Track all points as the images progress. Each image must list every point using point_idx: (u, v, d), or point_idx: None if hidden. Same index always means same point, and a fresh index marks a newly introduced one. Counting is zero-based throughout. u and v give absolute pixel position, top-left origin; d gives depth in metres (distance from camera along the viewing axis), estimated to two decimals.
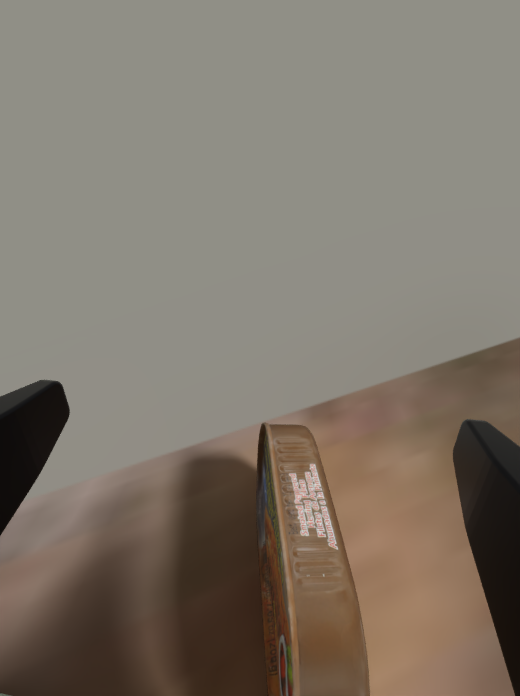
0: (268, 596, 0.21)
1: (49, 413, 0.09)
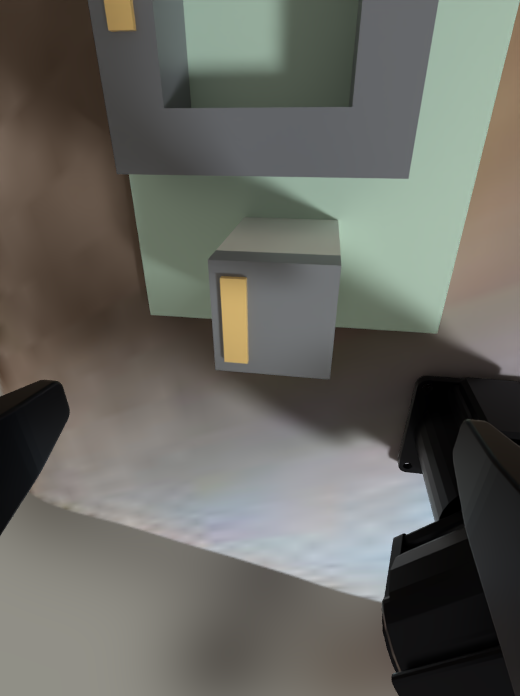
0: None
1: (49, 413, 0.09)
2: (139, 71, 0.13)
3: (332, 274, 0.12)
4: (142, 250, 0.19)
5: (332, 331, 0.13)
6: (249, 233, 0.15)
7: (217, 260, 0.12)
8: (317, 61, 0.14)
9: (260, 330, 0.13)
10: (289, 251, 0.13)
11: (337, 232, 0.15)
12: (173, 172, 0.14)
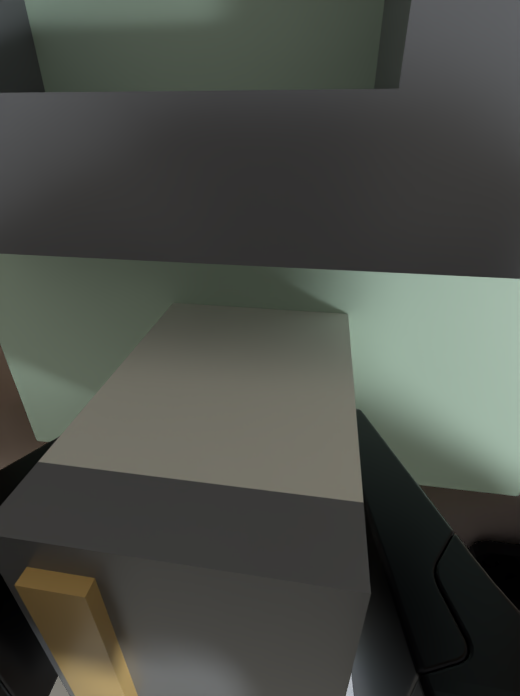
0: None
1: None
2: None
3: (341, 605, 0.04)
4: (4, 348, 0.11)
5: (339, 693, 0.05)
6: (158, 368, 0.07)
7: (6, 535, 0.04)
8: None
9: (155, 663, 0.05)
10: (225, 475, 0.05)
11: (348, 365, 0.07)
12: None
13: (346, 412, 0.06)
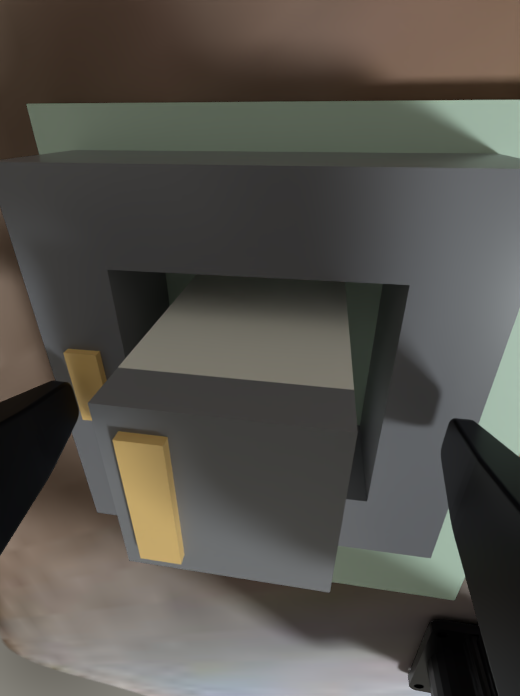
0: None
1: (59, 414, 0.09)
2: None
3: (338, 445, 0.06)
4: None
5: (336, 529, 0.07)
6: (195, 314, 0.09)
7: (107, 404, 0.06)
8: None
9: (201, 516, 0.07)
10: (255, 375, 0.07)
11: (344, 313, 0.09)
12: None
13: (342, 341, 0.08)
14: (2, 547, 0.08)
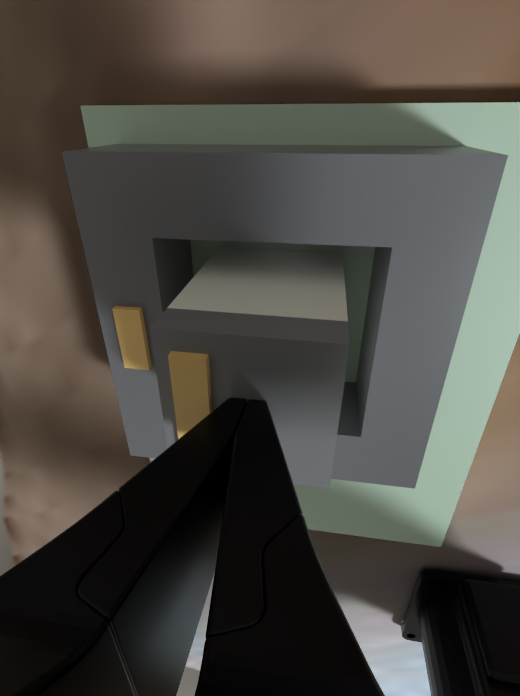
0: None
1: None
2: (153, 392, 0.13)
3: (336, 355, 0.08)
4: None
5: (334, 430, 0.09)
6: (221, 275, 0.11)
7: (164, 329, 0.08)
8: None
9: None
10: (273, 313, 0.09)
11: (342, 275, 0.11)
12: None
13: (339, 292, 0.10)
14: (210, 580, 0.07)
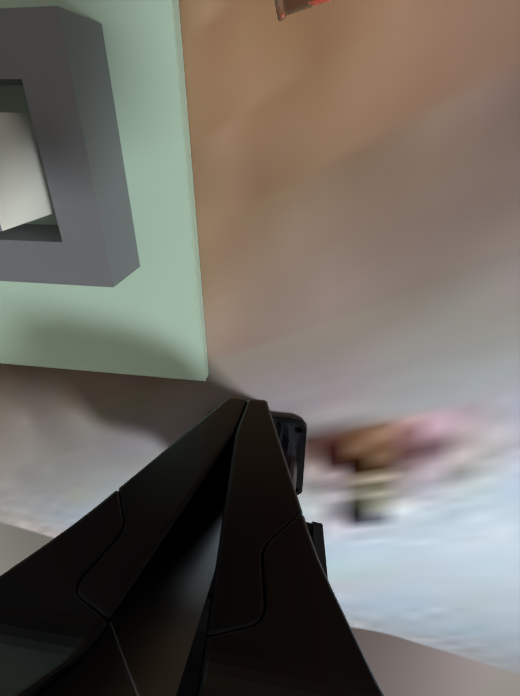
0: None
1: None
2: None
3: None
4: None
5: None
6: None
7: None
8: None
9: None
10: None
11: None
12: None
13: None
14: (210, 580, 0.07)
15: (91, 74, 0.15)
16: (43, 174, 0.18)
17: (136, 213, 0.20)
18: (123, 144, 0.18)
